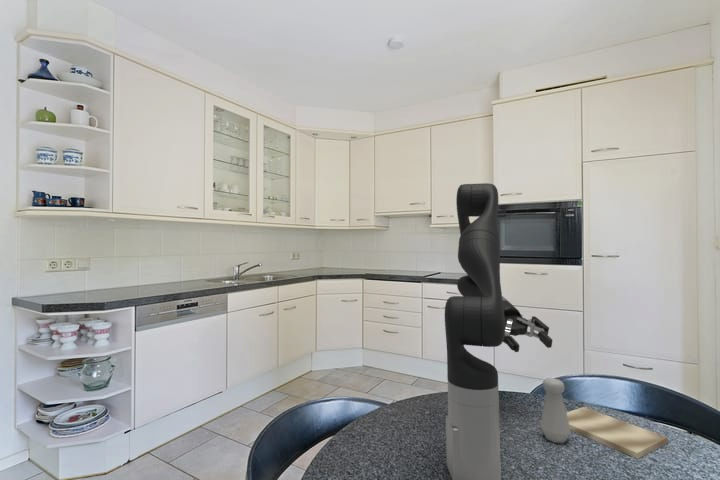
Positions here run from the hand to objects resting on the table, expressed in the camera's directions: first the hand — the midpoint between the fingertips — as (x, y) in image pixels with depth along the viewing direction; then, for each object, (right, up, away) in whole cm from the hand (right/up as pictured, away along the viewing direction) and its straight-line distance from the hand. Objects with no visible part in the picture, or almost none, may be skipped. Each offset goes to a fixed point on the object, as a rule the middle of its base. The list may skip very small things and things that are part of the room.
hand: (534, 347), depth 84 cm
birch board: (+15, -19, -3) cm, 25 cm away
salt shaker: (+2, -19, -6) cm, 20 cm away
